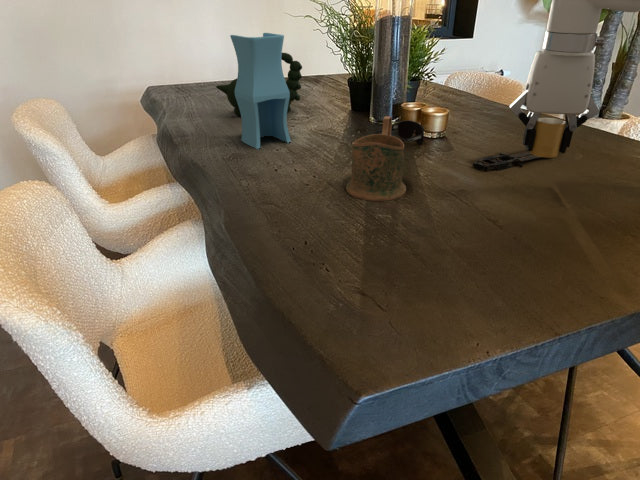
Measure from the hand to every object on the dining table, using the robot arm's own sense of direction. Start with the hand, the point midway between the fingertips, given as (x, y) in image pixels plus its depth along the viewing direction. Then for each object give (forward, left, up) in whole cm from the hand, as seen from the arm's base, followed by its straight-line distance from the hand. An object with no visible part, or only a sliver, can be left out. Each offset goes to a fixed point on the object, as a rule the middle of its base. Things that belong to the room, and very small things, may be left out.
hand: (544, 149), depth 89 cm
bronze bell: (+30, +1, -9) cm, 31 cm away
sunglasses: (+28, -26, -9) cm, 39 cm away
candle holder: (0, 0, -1) cm, 1 cm away
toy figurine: (+70, -51, -9) cm, 87 cm away
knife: (0, -19, -9) cm, 21 cm away
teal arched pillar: (+61, -24, -9) cm, 66 cm away
